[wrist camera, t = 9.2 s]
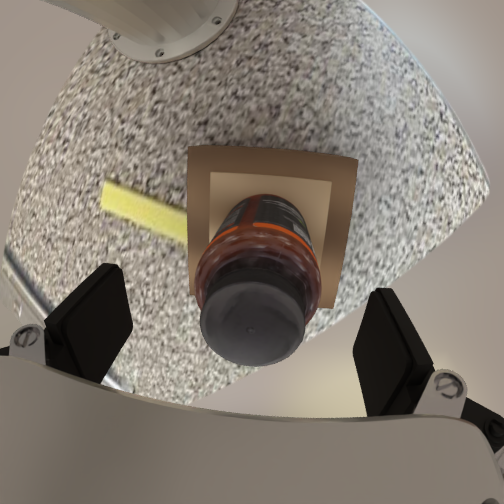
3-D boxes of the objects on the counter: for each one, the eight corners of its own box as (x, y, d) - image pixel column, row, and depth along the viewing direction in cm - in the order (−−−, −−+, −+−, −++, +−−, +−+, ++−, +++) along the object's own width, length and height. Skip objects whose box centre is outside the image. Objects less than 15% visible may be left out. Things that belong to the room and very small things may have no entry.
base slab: (202, 145, 23) (186, 146, 19) (346, 156, 22) (359, 160, 18) (201, 274, 27) (188, 296, 23) (327, 285, 27) (333, 310, 23)
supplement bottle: (217, 258, 22) (165, 361, 11) (234, 182, 20) (180, 234, 9) (293, 278, 22) (298, 394, 11) (318, 205, 20) (357, 281, 9)
